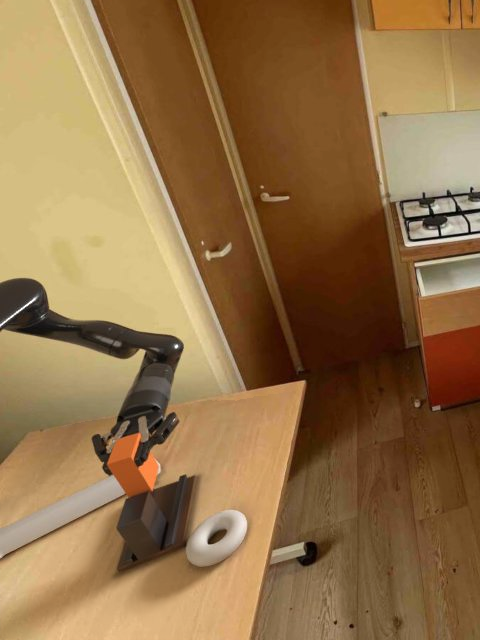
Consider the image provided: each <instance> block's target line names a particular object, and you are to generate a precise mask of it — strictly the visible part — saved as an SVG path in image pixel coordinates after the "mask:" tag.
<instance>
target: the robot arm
mask: <svg viewBox="0 0 480 640" xmlns="http://www.w3.org/2000/svg"><path fill="white" fill-rule="evenodd" d="M2 331H7V332H11V333H16V334H22V335H26V336H32V337H38V338H42V339H46V340H47V339H48V340H53V341H58V342H62V343H66V344H72V345H75V346H78V347H82V348H86V349H89V350H92V351H94V352H96V353H97V352H98V353H100V354H103V355H106V356H109V357H112V358H115V359H119V360H128V359H131V358H133V357H134V356H135V355H136V354H137V353H138V352H139V351H140V350H143V351H145V352H144V355H143V358H142V361H141V364H140V366H139V369H138V372H137V373H136V375H135V377H134V379H133V381H132V384H131V387H129V390H128V391H127V393H126V395H125V398H124V399H123V402H122V405H121V407H120V410H119V412H118V415H117V417H116V423H115V424H114V425H113V427H111V429H110V431H108V432H107V433H104V434H102V435H101V434H100V433H97V434H94V435H92V436H91V442H92V447H93V450H94V454H95V455H96V457H97V458H98V460H99V461H100V462H101V463H103V464H102V466H101V469H102V470H103V472H104V474H105V475H107V476H108V477H110V476H112V475H113V474H112V472H111V471H110V469H109V468H108V466H107V462H108V460H109V457H110V455H111V452H112V450H113V447H114V445H115V442H116V440H117V439H119V438H123V437H126V436H129V435H133V434H136V433H140V435H141V437H140V441H141V444H138V447H137V450H136V453H135V456H134V462H135V464H136V465H137V467H139V466H142V465H143V463H144V462H145V461H147V459H148V456H149V453H150V452H151V450H152V449H153V448H154V446H156V445H159V446H160V445H163V444H165V442H166V441H167V440H168V438H169V436H171V434H172V433H173V432H174V430H175V429H176V427H177V426H178V425H179V423H180V422H181V421H180V419H179V417H178V415H177V412H175V411H172V412H170V413H168V415H166V413H167V410H168V406H169V404H170V403H169V402H171V396H172V388H173V385H174V380H175V373H176V371H177V368H178V365H179V363H180V360H181V357H182V355H183V352H184V349H185V344H184V342H183V341H182V339H180V338H179V337H177V336H175V335H172V334H166V333H157V332H149V331H139V330H135V329H133V328H130V327H128V326H124V325H122V324H119V323H116V322H113V321H108V320H102V319H74V318H70V317H67V316H64V315H61V314H59V313H58V312H55V311H54V310H52V309H50V304H49V298H48V294H47V290H46V287H44V285H43V284H42V283H41V282H40V281H38V280H36V279H34V278H31V277H16V278H10V279H7V280H3V281H1V282H0V333H1V332H2ZM110 442H111V444H110ZM108 446H109V447H108ZM107 447H108V448H107Z"/></svg>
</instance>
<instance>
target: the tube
mask: <svg viewBox="0 0 480 640" xmlns="http://www.w3.org/2000/svg"><path fill="white" fill-rule="evenodd" d="M154 459H155V460H156V462H157V464H158V466H159V469H158V472H157V476H159V475H160V474H161V473H162V468H161V464H160V462H158V460H157V459H156V458H155V457H154ZM124 495H126V493H125V492H124V490H123V489H122V487H121V486H120V484H119V483H118V481H117V480H116V478H115V477H114V475H111V476H108V477H106V478H104V479H102V480H99V481H97V482H95V483H93V484H91V485H89V486H87V487H85V488H83V489H80V490H79V491H77V492H75V493H73V494H71V495H69V496H66V497H64V498H62V499H60V500H58V501H56V502H54V503H52V504H49V505H48V506H46V507H42V509H40V510H37V511H35V512H33V513H31V514H29V515H27V516H25V517H23V518H21V519H18V520H16V521H14V522H11V523H9V524H8V525H5V526H3V527H1V528H0V559H2V558H4V557H5V556H6V555H8V554H9V553H11V552H13V551H16V550H17V549H19V548H21V547H23V546H25V545H27V544H29V543H31V542H33V541H35V540H37V539H39V538H41V537H42V536H45V535H47V534H48V533H51V532H52V531H55V530H56V529H59V528H61V527H63V526H65V525H67V524H69V523H70V522H72V521H74V520H76V519H78V518H80V517H82V516H85V515H87V514H88V513H90V512H92V511H94V510H96V509H99V508H100V507H102V506H104V505H106V504H108V503H110V502H112V501H114V500H116V499H118V498H120V497H122V496H124Z"/></svg>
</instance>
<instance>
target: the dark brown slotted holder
mask: <svg viewBox="0 0 480 640" xmlns="http://www.w3.org/2000/svg"><path fill="white" fill-rule="evenodd" d="M197 480H198V478H197V476H196V475H195V474H194V475H191V476H188V475H187V474H186V473H185V474H182V475H179V478H178V480H177V481H174V482H172V483H168V484H166V485H162V486H159V487H157V488H153V491H152V492H149V491H147V492H144V493H141V494H138V495H135V496H132V497H129V498H128V497H127V498H125V499H124V503H123V505H122V508H121V512H120V515H119V518H118V521H117V524H116V527H115V529H116V531H117V532H118V533H119V535H120V536H121V538H122V539H123V540H124V544H123V547H122V550H121V554H120V556H119V560H118V564H117V567H116V571H117V572H118V574H120V573H123V572H126V571H128V570H129V569H132V568H135V567H137V566H140V565H143V564H145V563H148V562H151V561H153V560H156V559H158V558H160V557H163V556H165V555H168V554H170V553H173V552H174V551H175V552H176V551H178V550H180V549H183V548H186V544H187V537H188V531H189V525H190V520H191V514H192V508H193V503H194V499H195V498H194V497H195V492H196V487H197Z"/></svg>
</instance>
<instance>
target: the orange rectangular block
mask: <svg viewBox="0 0 480 640" xmlns="http://www.w3.org/2000/svg"><path fill="white" fill-rule="evenodd" d="M140 437H141V435H140V433H136V434H133V435H129V436H126V437H123V438H119V439H117V440H116V442H115V445H114V447H113V450H112V452H111V455H110V457H109V460H108V462H107V466H108V468H109V469H110V471H111V472H112V474H113V475H114V477H115V478H116V480H117V481H118V483H119V484H120V486H121V487H122V489H123V490H124V492H125V493H126V494H125V495H126V496H127V498H129V497H132V496H135V495H138V494H141V493H144V492H147V491H149V492H152V491H153V489H154V488H155V487H154V486H155V484H156V479H157V477H158V475H157V472H158V469H159V466H158V464H157V462H156V460H157V459H156V458H155V456H154V455H153V453H152V451H150V453H149V456H148V459H147V461H145V462H144V463H143V465H142V466H139V467H137V465H136V464H135V462H134V456H135V453H136V450H137V447H138V444H141V441H140ZM154 458H155V459H156V460H155V459H154Z"/></svg>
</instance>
